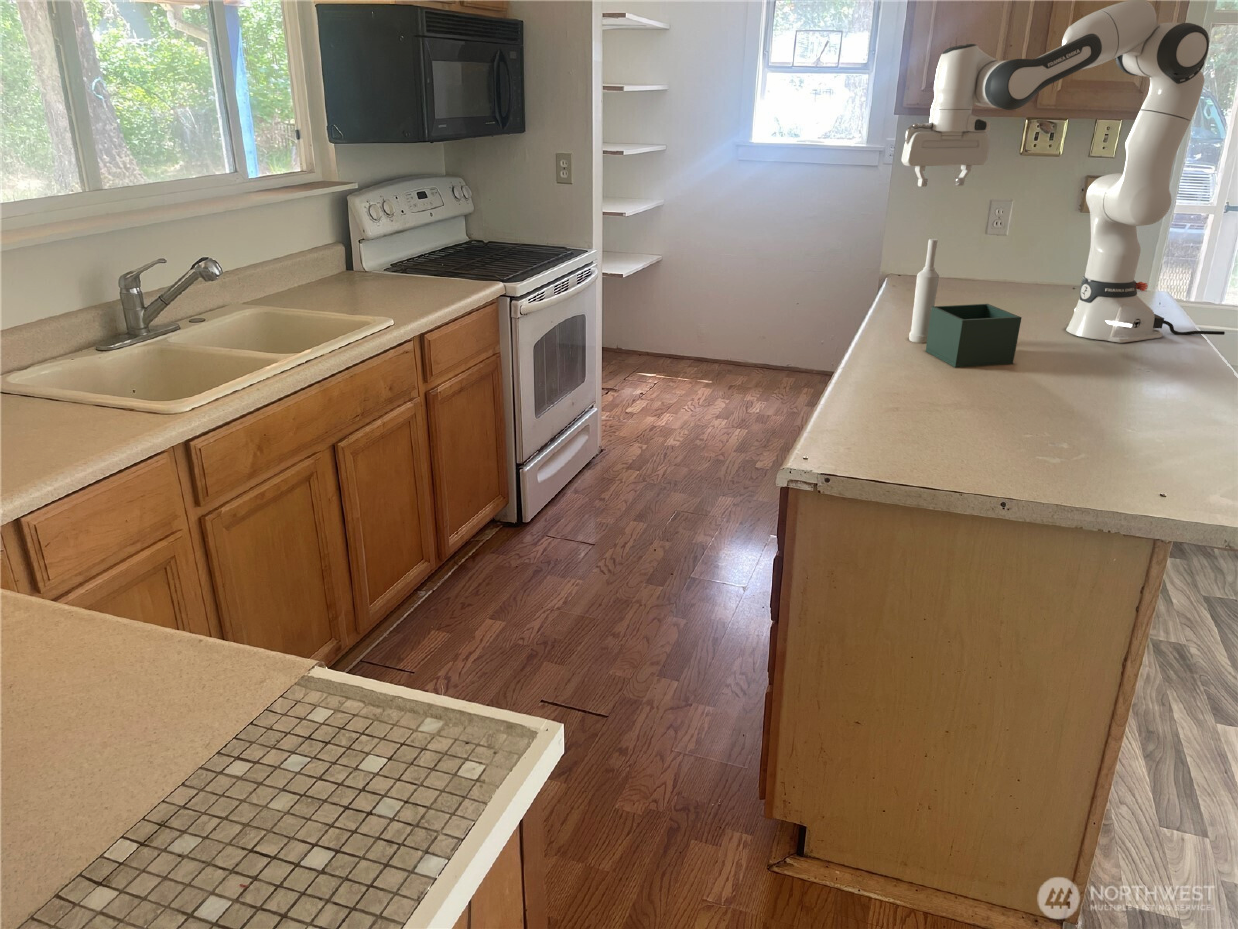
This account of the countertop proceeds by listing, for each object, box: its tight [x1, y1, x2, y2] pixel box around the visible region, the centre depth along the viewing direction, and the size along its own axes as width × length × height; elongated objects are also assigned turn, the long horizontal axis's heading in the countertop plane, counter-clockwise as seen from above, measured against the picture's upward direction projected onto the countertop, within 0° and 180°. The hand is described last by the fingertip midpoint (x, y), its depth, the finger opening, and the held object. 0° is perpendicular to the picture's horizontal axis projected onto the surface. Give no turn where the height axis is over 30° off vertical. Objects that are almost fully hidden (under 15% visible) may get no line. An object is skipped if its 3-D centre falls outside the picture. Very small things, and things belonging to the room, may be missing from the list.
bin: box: [925, 303, 1022, 369], centre depth 203 cm, size 15×14×11 cm
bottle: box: [908, 238, 940, 344], centre depth 214 cm, size 5×5×25 cm
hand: (940, 185), depth 204 cm, fingers open, 8 cm apart
